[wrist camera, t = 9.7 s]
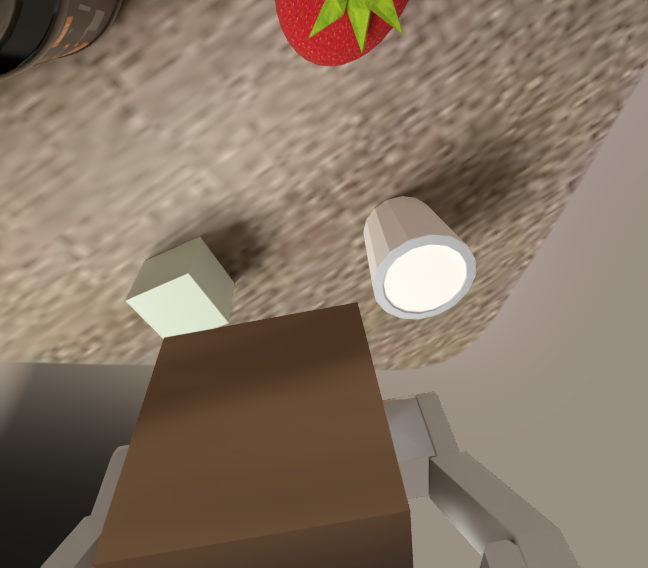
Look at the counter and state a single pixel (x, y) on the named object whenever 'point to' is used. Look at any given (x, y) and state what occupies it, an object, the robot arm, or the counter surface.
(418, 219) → the shot glass
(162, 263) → the sage block
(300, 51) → the strawberry
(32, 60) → the supplement container
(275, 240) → the counter surface
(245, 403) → the walnut block
